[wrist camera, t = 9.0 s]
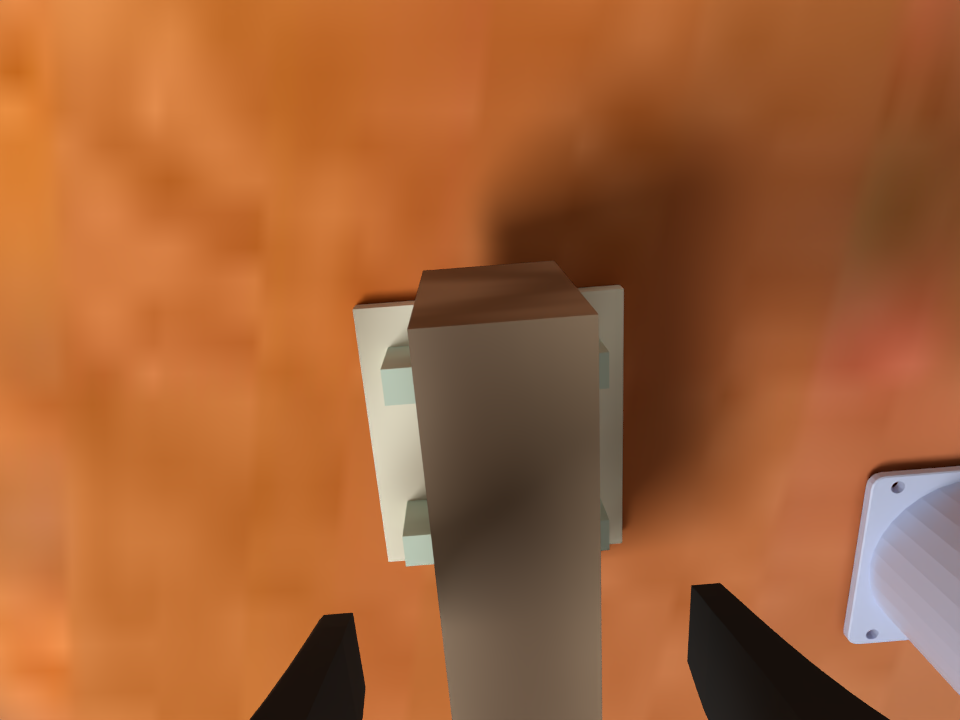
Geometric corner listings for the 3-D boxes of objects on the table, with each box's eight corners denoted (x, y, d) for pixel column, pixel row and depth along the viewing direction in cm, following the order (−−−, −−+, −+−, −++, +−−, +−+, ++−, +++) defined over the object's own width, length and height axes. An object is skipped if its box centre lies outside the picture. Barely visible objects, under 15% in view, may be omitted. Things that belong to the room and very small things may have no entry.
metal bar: (553, 260, 18) (598, 314, 12) (565, 620, 22) (602, 783, 17) (423, 270, 18) (407, 329, 12) (460, 629, 22) (460, 795, 17)
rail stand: (619, 284, 21) (642, 304, 18) (618, 533, 24) (637, 581, 22) (355, 305, 21) (341, 327, 18) (390, 551, 24) (382, 601, 22)
